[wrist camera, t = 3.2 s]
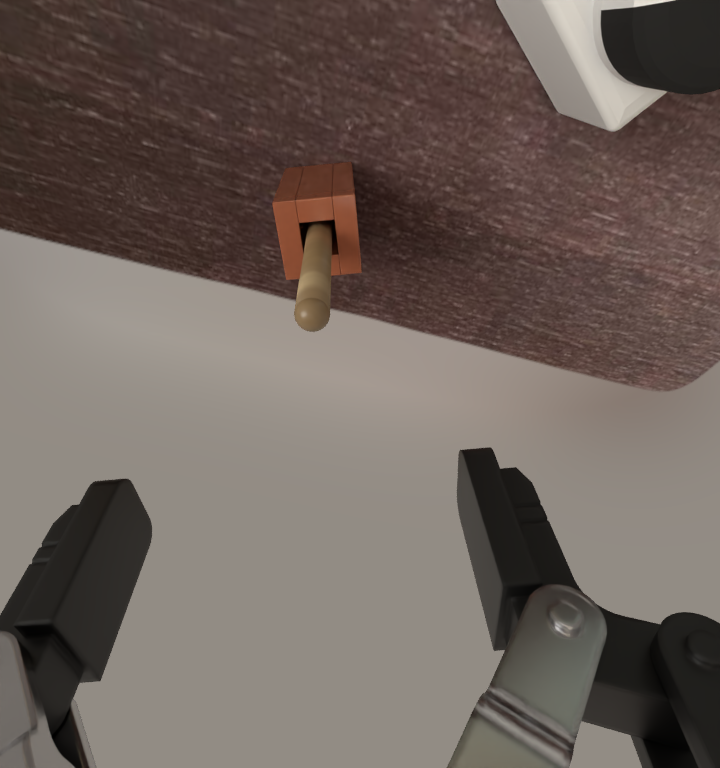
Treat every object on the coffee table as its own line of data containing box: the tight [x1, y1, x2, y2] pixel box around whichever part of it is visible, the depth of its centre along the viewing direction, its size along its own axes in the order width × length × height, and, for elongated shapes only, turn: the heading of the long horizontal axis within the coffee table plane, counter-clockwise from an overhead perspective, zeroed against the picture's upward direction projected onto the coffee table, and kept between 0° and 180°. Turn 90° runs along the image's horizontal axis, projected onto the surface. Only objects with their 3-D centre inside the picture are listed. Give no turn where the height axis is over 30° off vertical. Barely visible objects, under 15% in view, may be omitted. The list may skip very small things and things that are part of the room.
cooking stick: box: [294, 220, 333, 332], centre depth 26 cm, size 1×1×17 cm
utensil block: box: [272, 162, 362, 280], centre depth 30 cm, size 4×4×8 cm
